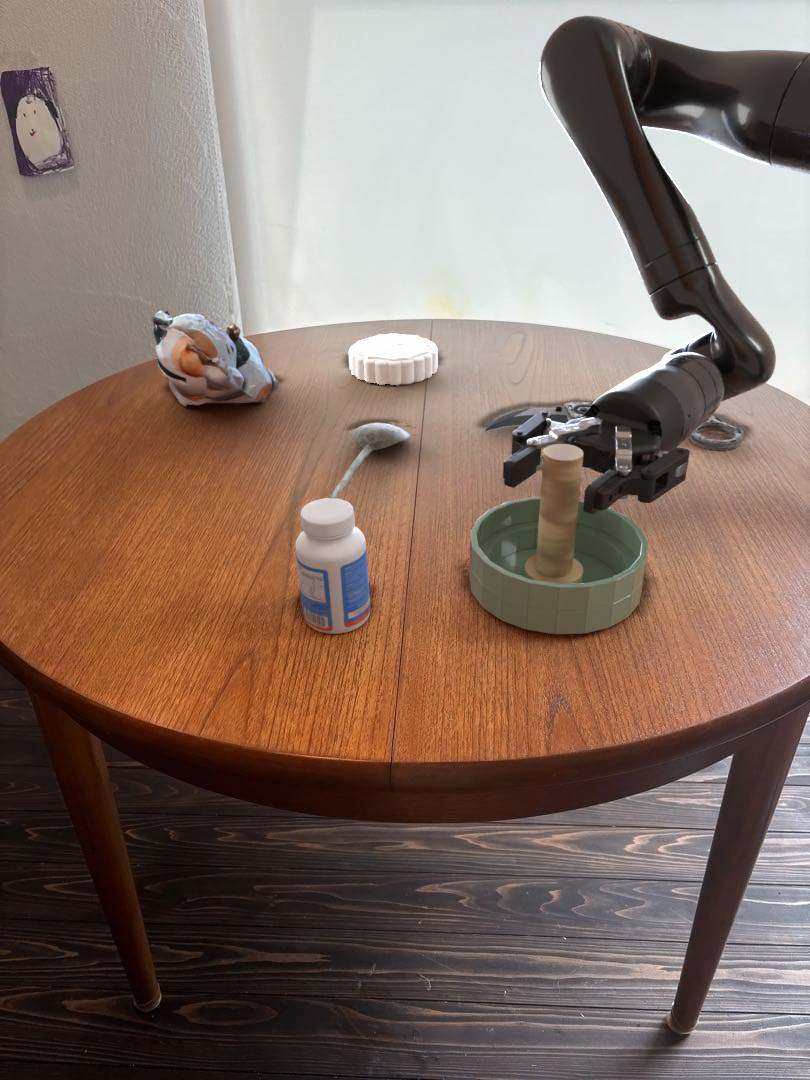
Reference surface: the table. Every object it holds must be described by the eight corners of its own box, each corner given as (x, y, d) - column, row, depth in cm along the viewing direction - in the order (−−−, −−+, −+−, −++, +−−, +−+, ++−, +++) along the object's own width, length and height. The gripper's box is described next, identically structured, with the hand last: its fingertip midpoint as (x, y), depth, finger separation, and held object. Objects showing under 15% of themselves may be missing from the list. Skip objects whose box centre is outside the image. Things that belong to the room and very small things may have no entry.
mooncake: (441, 384, 113) (441, 358, 111) (348, 387, 112) (347, 361, 110) (435, 354, 123) (435, 329, 121) (350, 356, 123) (349, 331, 121)
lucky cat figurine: (296, 396, 110) (265, 317, 98) (220, 452, 107) (178, 377, 95) (232, 337, 117) (195, 256, 105) (159, 388, 114) (113, 311, 102)
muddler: (575, 566, 74) (588, 438, 68) (587, 598, 70) (601, 465, 64) (519, 567, 74) (527, 439, 68) (528, 600, 70) (536, 466, 64)
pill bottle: (366, 593, 72) (360, 489, 67) (375, 631, 68) (369, 524, 63) (300, 600, 72) (289, 496, 67) (305, 640, 67) (294, 531, 62)
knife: (483, 426, 98) (495, 389, 106) (483, 438, 99) (495, 401, 107) (747, 448, 92) (739, 407, 100) (744, 461, 93) (736, 419, 101)
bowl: (618, 543, 78) (624, 494, 76) (659, 638, 66) (668, 584, 64) (463, 547, 78) (464, 498, 76) (477, 643, 66) (479, 589, 64)
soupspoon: (418, 441, 99) (365, 437, 101) (417, 413, 98) (362, 410, 100) (351, 528, 81) (287, 522, 83) (348, 496, 79) (283, 490, 81)
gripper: (577, 360, 78) (470, 420, 67) (733, 396, 70) (641, 470, 59) (570, 436, 82) (468, 504, 71) (717, 478, 74) (628, 561, 63)
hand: (547, 488), depth 65 cm, fingers open, 6 cm apart
